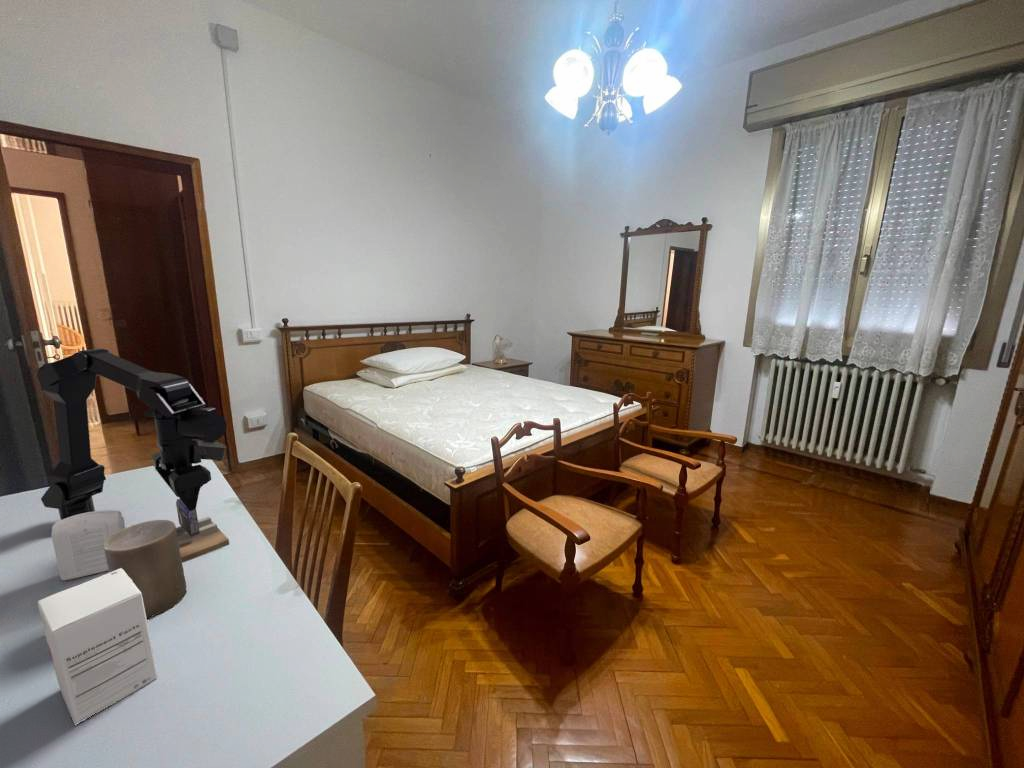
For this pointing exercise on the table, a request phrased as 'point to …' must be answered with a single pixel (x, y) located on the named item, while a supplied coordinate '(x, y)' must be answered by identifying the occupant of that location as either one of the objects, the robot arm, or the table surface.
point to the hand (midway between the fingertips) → (186, 503)
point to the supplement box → (98, 642)
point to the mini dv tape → (187, 519)
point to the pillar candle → (149, 562)
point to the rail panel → (200, 540)
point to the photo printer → (84, 542)
